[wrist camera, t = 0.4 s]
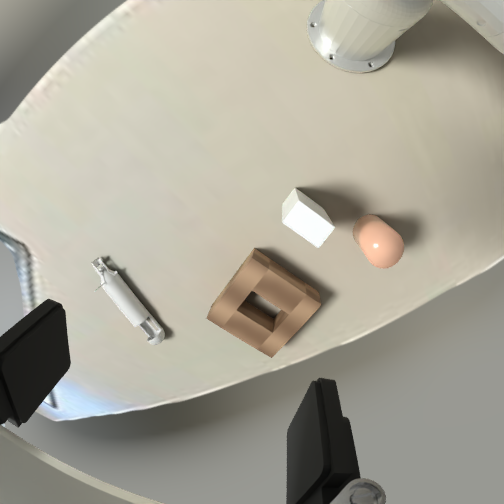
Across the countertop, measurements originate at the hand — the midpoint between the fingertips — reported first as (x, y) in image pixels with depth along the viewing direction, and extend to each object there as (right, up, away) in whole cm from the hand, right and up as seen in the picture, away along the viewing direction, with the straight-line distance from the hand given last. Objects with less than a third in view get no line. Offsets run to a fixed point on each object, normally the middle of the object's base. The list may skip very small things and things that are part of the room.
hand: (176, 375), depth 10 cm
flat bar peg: (+10, +11, +33) cm, 36 cm away
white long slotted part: (-18, -3, +41) cm, 45 cm away
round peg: (+20, +7, +33) cm, 39 cm away
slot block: (+4, -3, +38) cm, 39 cm away
